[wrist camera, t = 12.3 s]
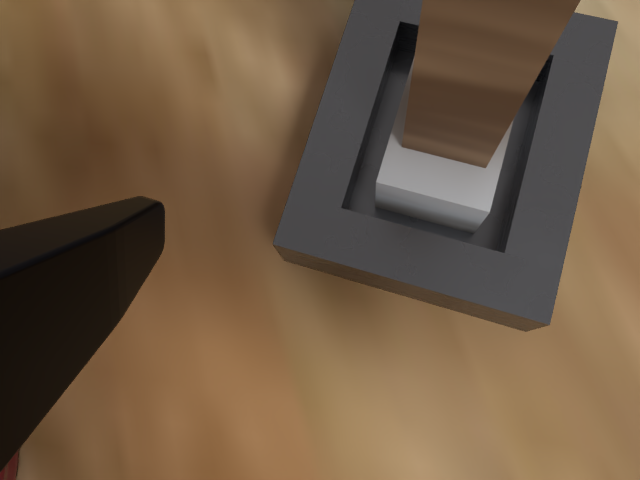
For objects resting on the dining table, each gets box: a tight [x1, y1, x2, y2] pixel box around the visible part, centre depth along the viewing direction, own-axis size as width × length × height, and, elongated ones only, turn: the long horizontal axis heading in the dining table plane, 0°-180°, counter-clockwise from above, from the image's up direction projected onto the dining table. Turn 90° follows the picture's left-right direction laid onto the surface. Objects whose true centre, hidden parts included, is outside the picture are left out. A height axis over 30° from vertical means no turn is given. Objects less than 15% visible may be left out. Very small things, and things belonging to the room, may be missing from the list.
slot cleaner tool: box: [375, 0, 580, 234], centre depth 16 cm, size 6×4×14 cm, turn 163°
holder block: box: [273, 0, 618, 332], centre depth 23 cm, size 12×10×3 cm
